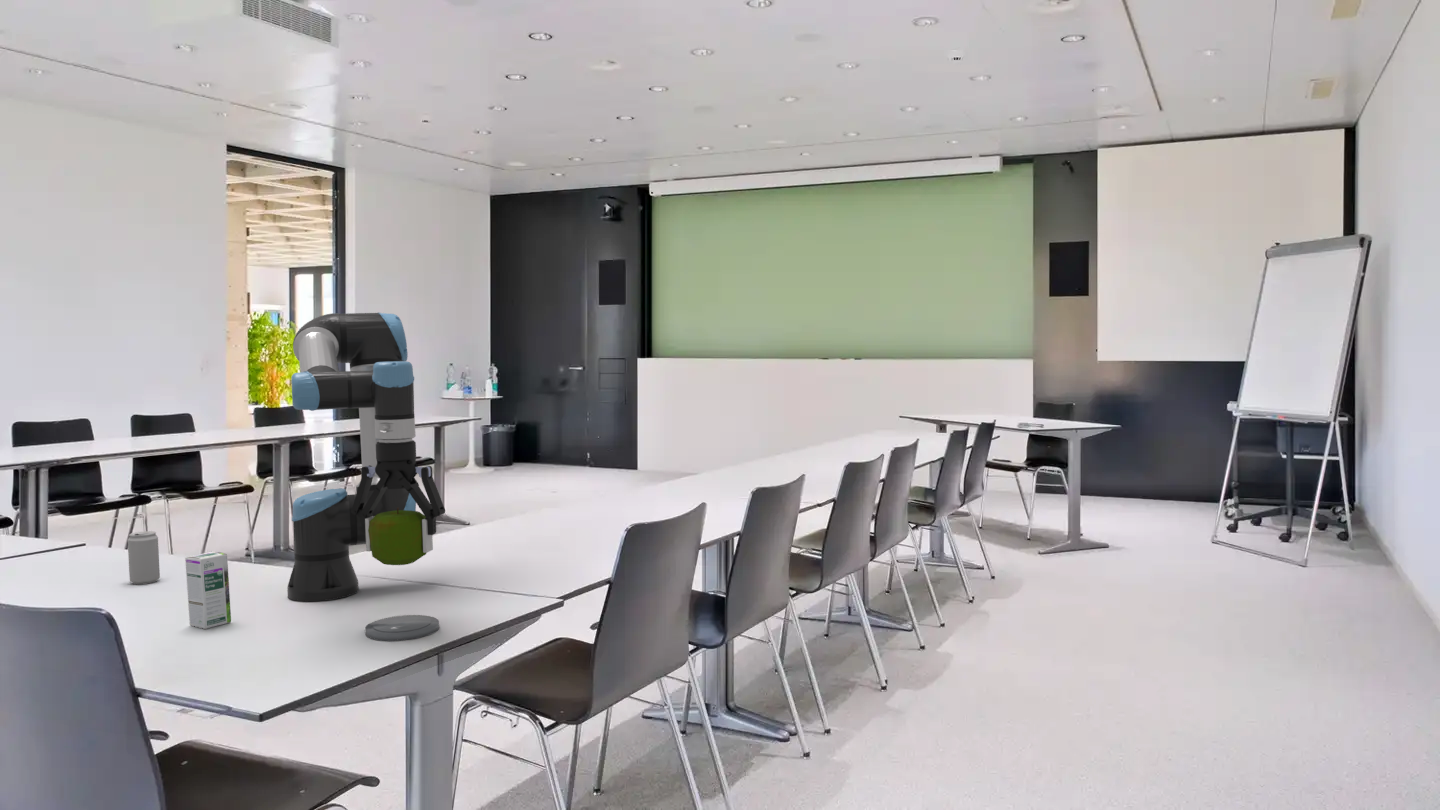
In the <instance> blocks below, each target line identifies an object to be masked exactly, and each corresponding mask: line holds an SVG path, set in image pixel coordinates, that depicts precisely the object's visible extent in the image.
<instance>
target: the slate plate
mask: <svg viewBox="0 0 1440 810" xmlns="http://www.w3.org/2000/svg"><path fill="white" fill-rule="evenodd" d="M439 629H440V621H439V619H438V618H437V617H434V616H431V615H424V614H423V615H422V614H408V615H406V614H404V615H395V616H389V617H384V618H380V619H377V620H374V621H372V622H370V623H368V624H367V625H366V626H365V628H364V631H365V632H364V633H365V637H366V638H368V639H371V640H374V641H381V642H384V641H385V642H397V641H398V642H399V641H409V640H410V641H411V640H415V639H419V638H424V637H427V636H429V635H430V636H431V635H433V634H434V633H436V632H437V631H438V630H439Z"/></svg>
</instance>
